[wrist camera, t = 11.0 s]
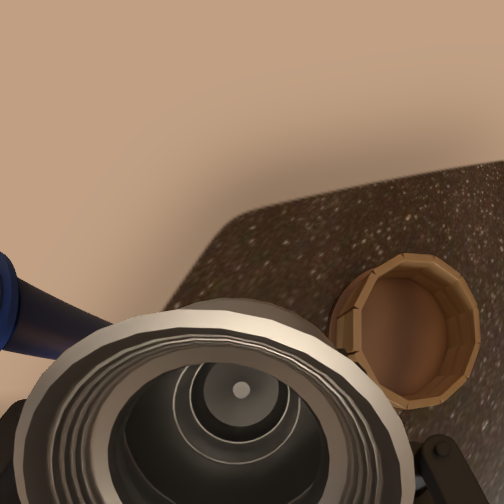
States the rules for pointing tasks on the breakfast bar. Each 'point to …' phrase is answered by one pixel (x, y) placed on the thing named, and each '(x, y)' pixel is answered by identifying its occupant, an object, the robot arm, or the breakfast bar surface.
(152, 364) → the silver metal bottle
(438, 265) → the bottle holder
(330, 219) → the breakfast bar surface
